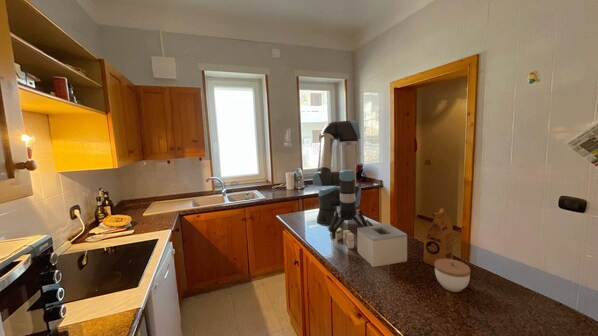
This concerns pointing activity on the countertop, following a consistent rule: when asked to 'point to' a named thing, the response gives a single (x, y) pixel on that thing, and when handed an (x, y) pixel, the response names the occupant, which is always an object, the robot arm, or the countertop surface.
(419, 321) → the countertop surface
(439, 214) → the coffee package
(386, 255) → the slot box
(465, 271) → the lidded jar
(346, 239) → the tan rectangular block
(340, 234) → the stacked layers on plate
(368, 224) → the fossil
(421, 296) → the countertop surface
